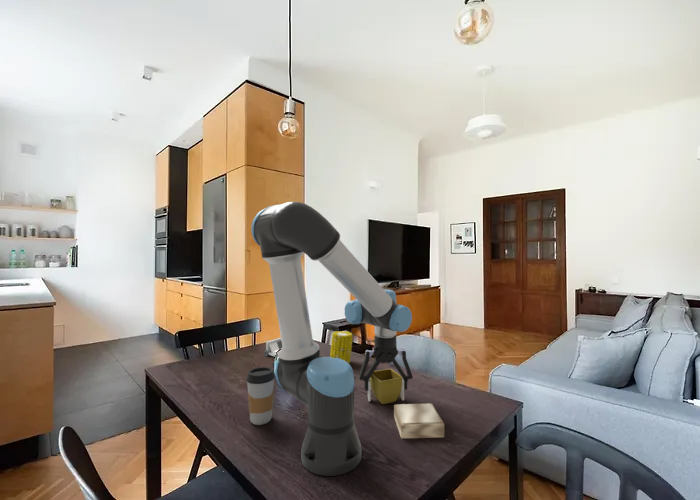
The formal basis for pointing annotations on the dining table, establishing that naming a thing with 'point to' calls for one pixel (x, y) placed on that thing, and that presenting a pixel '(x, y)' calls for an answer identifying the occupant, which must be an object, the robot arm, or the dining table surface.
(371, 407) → the dining table surface
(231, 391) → the dining table surface
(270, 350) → the toy car
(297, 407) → the dining table surface
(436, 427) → the cream square block
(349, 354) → the food
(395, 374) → the flower pot
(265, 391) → the coffee cup
